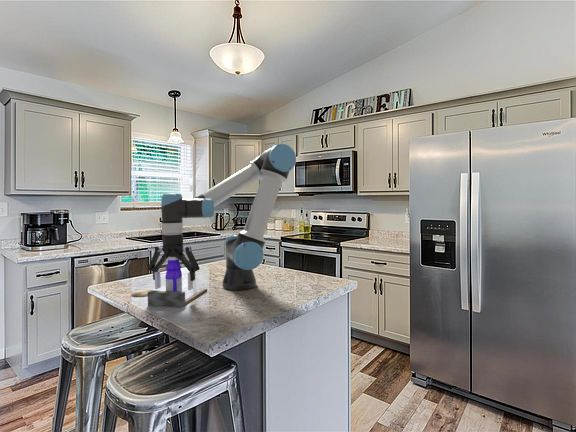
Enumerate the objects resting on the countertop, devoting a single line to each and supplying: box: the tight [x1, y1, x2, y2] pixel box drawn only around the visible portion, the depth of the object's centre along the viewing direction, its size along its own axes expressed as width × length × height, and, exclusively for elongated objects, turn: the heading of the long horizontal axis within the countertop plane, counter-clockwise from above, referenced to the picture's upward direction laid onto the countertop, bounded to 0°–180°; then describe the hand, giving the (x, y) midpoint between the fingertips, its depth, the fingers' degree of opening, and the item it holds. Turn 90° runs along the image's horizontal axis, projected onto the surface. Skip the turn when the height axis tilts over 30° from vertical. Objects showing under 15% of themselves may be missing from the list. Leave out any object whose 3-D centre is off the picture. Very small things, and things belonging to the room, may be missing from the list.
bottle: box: [165, 257, 183, 292], centre depth 128 cm, size 7×6×17 cm
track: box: [147, 288, 208, 308], centre depth 132 cm, size 14×22×5 cm, turn 171°
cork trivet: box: [131, 289, 155, 298], centre depth 139 cm, size 9×9×1 cm
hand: (174, 288), depth 128 cm, fingers open, 13 cm apart
